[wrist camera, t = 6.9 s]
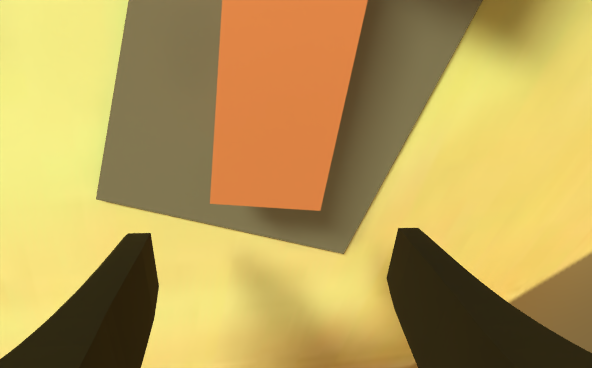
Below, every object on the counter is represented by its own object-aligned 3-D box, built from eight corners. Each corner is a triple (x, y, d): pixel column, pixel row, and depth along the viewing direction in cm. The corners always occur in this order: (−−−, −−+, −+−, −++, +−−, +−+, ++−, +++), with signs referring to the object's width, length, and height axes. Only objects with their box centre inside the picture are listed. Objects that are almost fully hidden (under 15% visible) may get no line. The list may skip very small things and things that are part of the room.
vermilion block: (236, -170, 14) (234, -208, 9) (357, -144, 14) (405, -168, 10) (216, 140, 19) (209, 203, 15) (303, 147, 20) (320, 210, 16)
